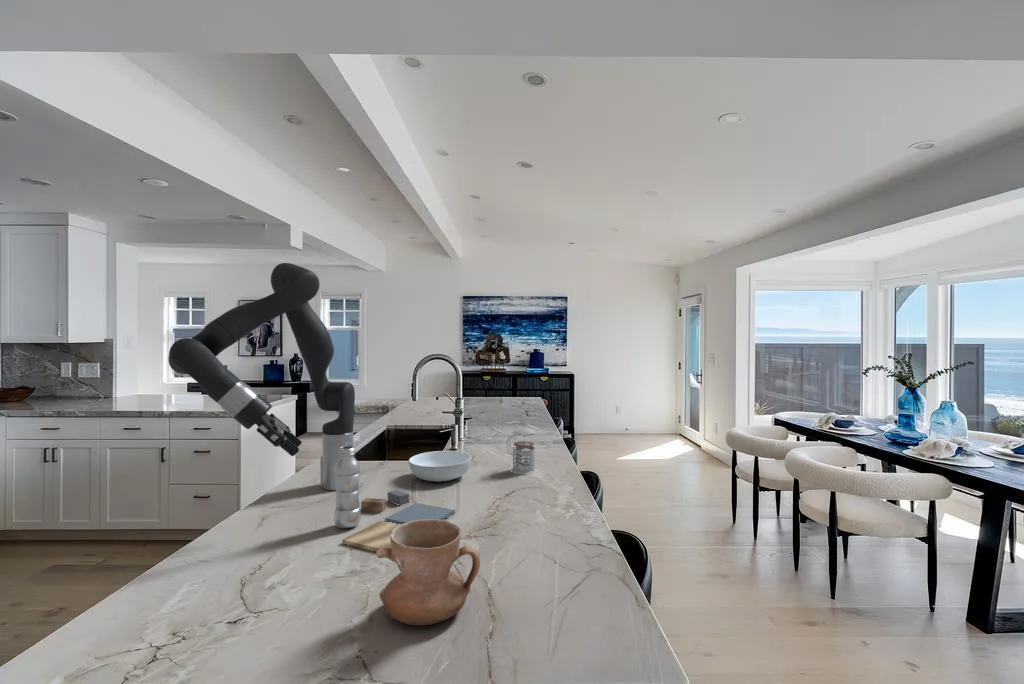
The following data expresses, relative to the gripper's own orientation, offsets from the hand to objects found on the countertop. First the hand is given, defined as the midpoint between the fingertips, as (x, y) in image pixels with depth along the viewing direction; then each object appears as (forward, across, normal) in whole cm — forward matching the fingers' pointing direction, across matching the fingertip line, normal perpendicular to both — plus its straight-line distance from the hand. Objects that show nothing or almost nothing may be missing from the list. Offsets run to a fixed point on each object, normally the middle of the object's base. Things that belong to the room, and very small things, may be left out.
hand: (297, 449), depth 123 cm
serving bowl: (+44, +35, -15) cm, 58 cm away
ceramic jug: (+32, -45, -2) cm, 55 cm away
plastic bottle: (+23, 0, +6) cm, 24 cm away
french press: (+65, +34, -35) cm, 81 cm away
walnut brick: (+28, +10, +2) cm, 29 cm away
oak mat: (+28, -11, +1) cm, 30 cm away
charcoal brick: (+33, +14, -3) cm, 36 cm away
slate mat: (+36, 0, -7) cm, 36 cm away
